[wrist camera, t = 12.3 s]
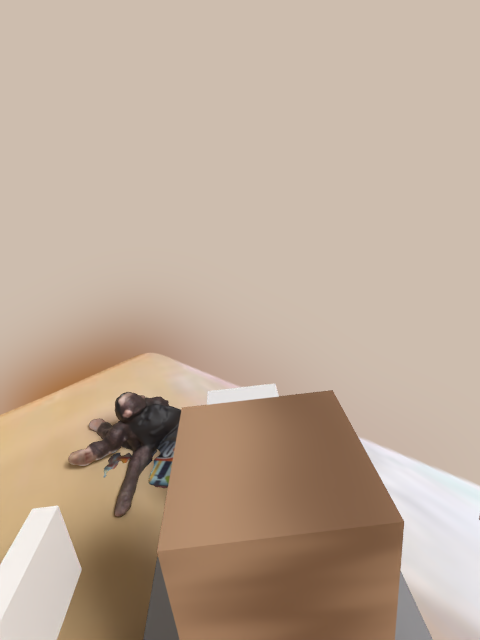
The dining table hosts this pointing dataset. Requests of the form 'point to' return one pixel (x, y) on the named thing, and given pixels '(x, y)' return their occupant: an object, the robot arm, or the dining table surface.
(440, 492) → the dining table surface
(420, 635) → the base block
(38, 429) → the dining table surface
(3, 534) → the dining table surface
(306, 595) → the walnut block
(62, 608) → the robot arm
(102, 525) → the dining table surface
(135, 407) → the stuffed animal
